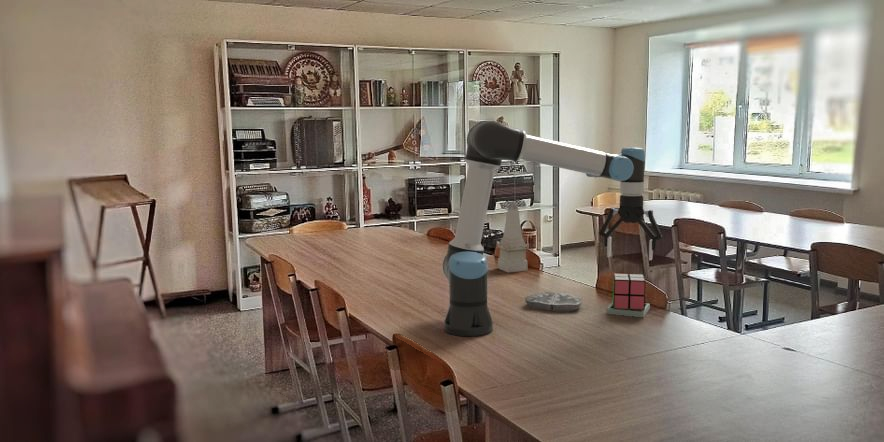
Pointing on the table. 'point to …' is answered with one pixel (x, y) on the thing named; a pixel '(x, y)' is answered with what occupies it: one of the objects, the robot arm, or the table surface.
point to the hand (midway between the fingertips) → (629, 258)
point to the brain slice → (553, 301)
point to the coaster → (628, 311)
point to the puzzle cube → (629, 291)
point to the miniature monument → (512, 244)
